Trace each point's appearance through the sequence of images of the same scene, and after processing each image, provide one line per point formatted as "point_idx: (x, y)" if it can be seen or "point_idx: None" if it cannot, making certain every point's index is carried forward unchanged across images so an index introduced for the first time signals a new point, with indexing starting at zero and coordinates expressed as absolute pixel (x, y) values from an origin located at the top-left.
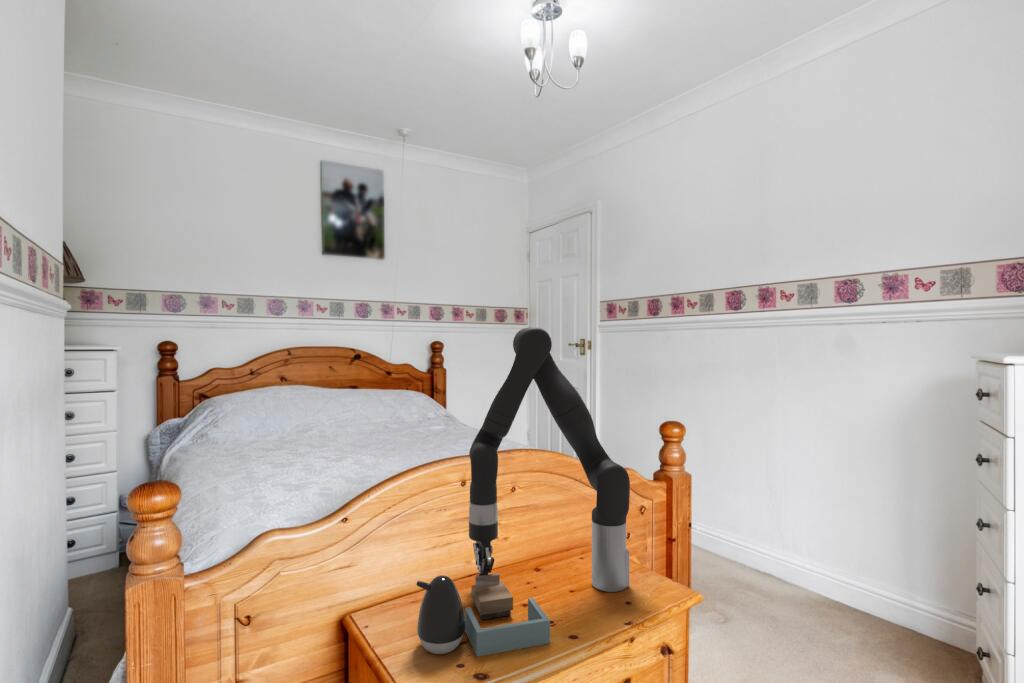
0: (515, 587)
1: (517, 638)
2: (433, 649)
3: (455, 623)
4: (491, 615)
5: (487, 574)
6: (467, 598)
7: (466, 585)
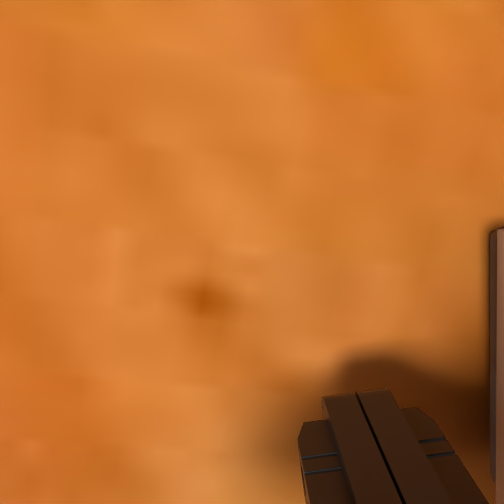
0: (203, 14)
1: None
2: None
3: None
4: None
5: (443, 495)
6: None
7: (99, 486)
